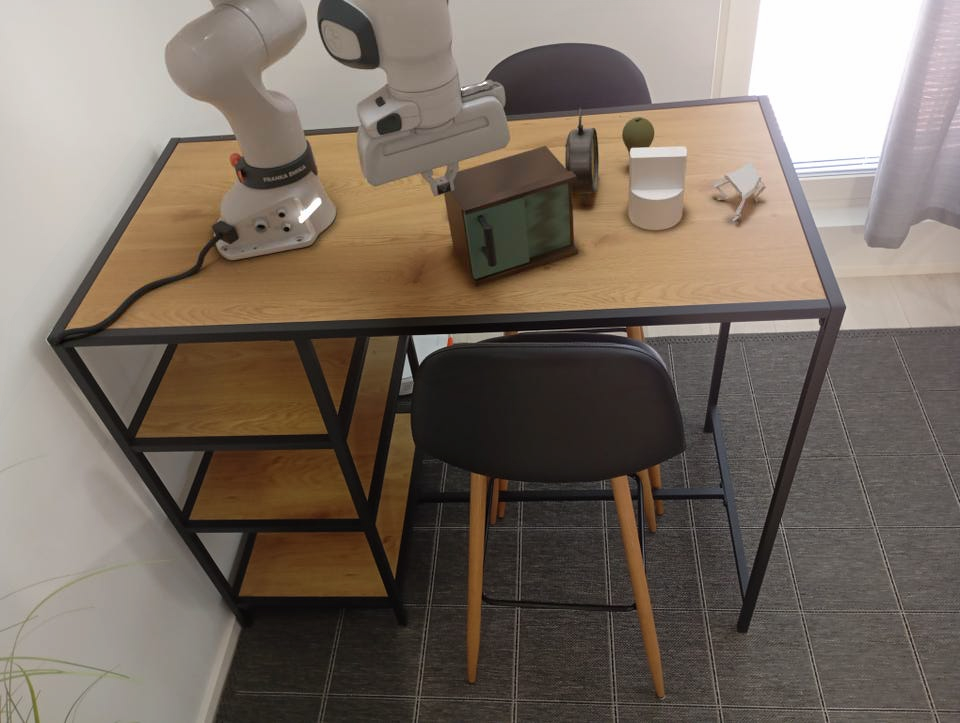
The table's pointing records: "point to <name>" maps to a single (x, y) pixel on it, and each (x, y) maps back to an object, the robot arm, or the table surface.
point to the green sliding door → (497, 237)
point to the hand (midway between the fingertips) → (443, 191)
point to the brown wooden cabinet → (543, 199)
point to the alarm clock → (583, 159)
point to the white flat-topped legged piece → (742, 184)
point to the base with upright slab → (656, 186)
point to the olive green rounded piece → (638, 133)
